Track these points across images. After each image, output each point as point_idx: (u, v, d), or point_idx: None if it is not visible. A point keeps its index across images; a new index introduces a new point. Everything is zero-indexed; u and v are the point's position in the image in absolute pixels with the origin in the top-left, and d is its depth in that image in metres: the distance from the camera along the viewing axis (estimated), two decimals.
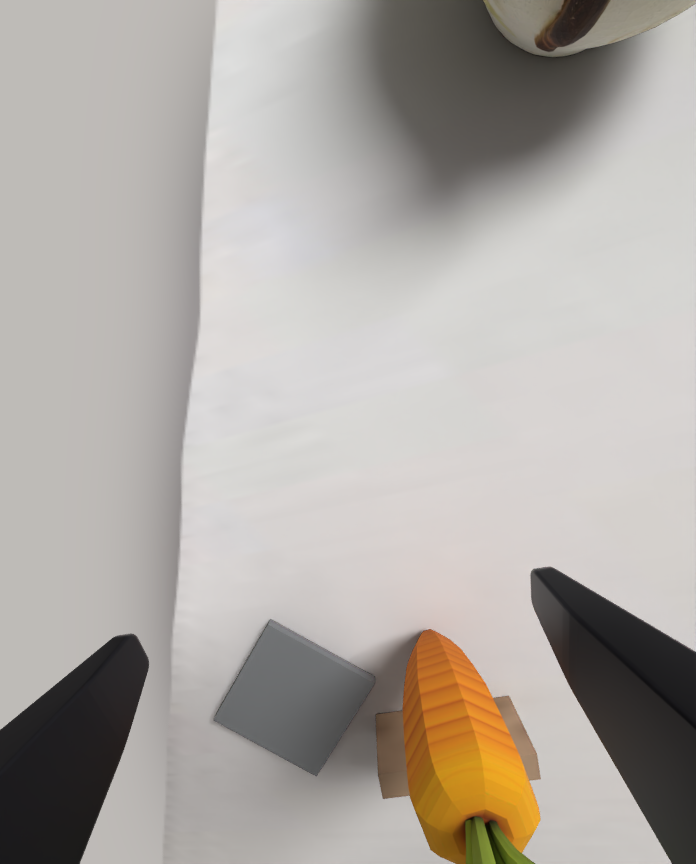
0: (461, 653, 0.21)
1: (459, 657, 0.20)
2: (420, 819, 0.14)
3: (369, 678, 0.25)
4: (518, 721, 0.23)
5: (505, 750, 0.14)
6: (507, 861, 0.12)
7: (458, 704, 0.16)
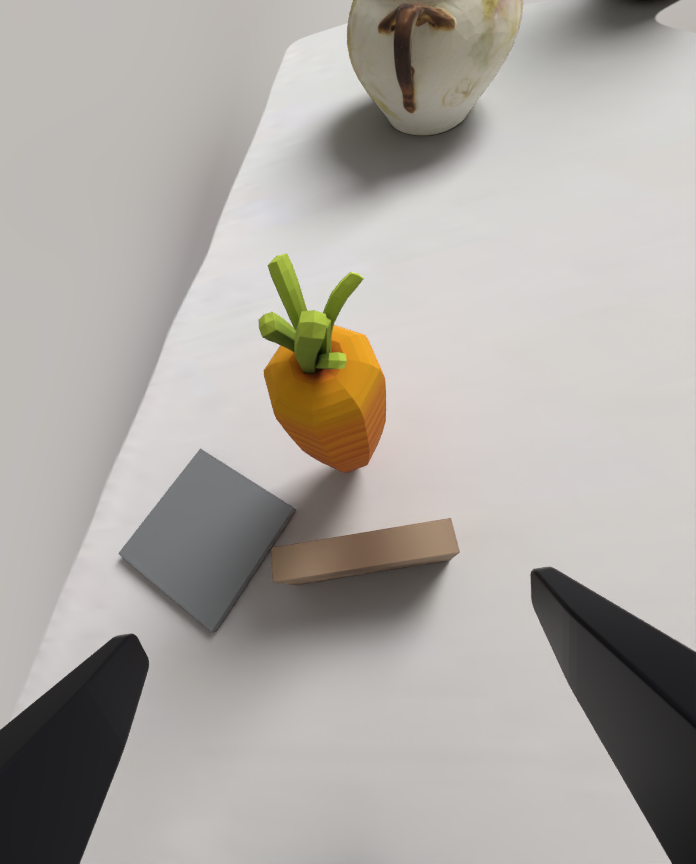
0: None
1: None
2: (266, 374, 0.15)
3: None
4: None
5: None
6: None
7: None
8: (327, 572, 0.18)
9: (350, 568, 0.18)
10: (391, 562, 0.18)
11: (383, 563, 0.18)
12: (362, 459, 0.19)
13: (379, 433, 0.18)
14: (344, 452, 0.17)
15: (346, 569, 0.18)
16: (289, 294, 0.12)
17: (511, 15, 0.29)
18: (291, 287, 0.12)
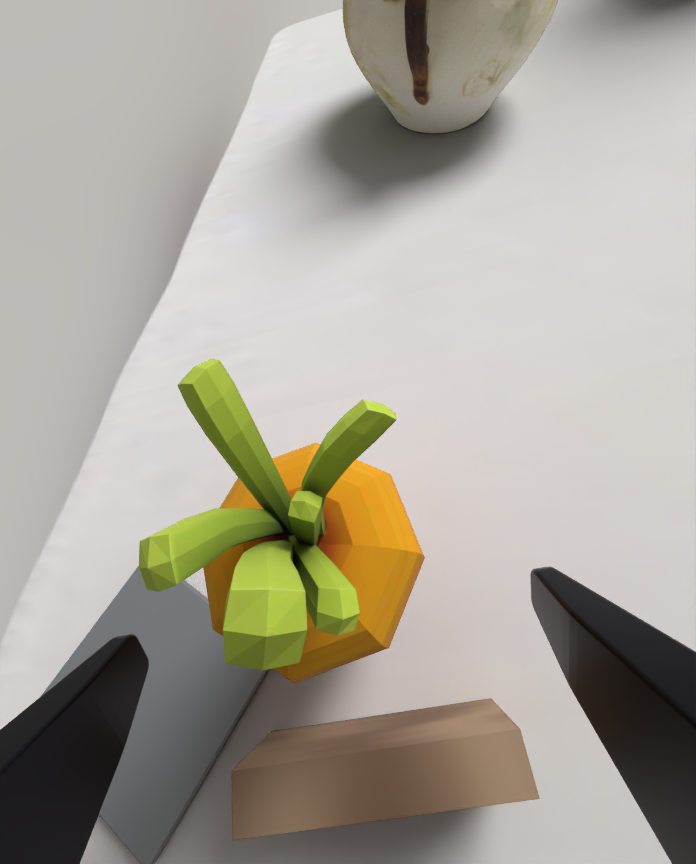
0: None
1: None
2: None
3: None
4: (498, 711, 0.13)
5: None
6: None
7: None
8: (321, 826, 0.11)
9: (359, 820, 0.11)
10: (426, 811, 0.11)
11: (413, 813, 0.11)
12: None
13: None
14: None
15: (352, 820, 0.11)
16: (228, 446, 0.05)
17: None
18: (232, 433, 0.05)
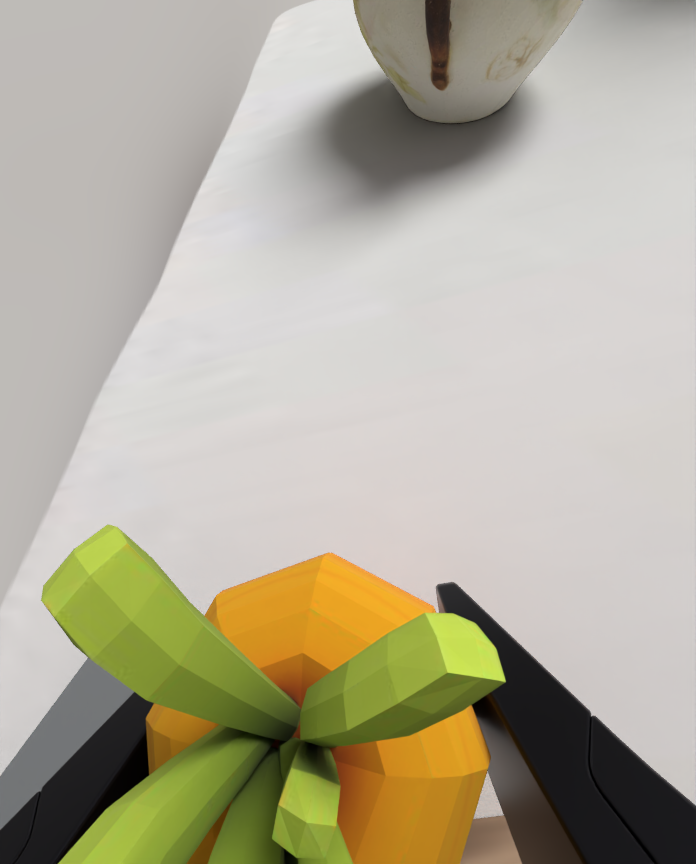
0: None
1: None
2: (149, 744, 0.05)
3: None
4: None
5: (397, 587, 0.06)
6: (302, 715, 0.03)
7: None
8: None
9: None
10: None
11: None
12: None
13: None
14: None
15: None
16: (153, 702, 0.03)
17: None
18: (160, 676, 0.03)
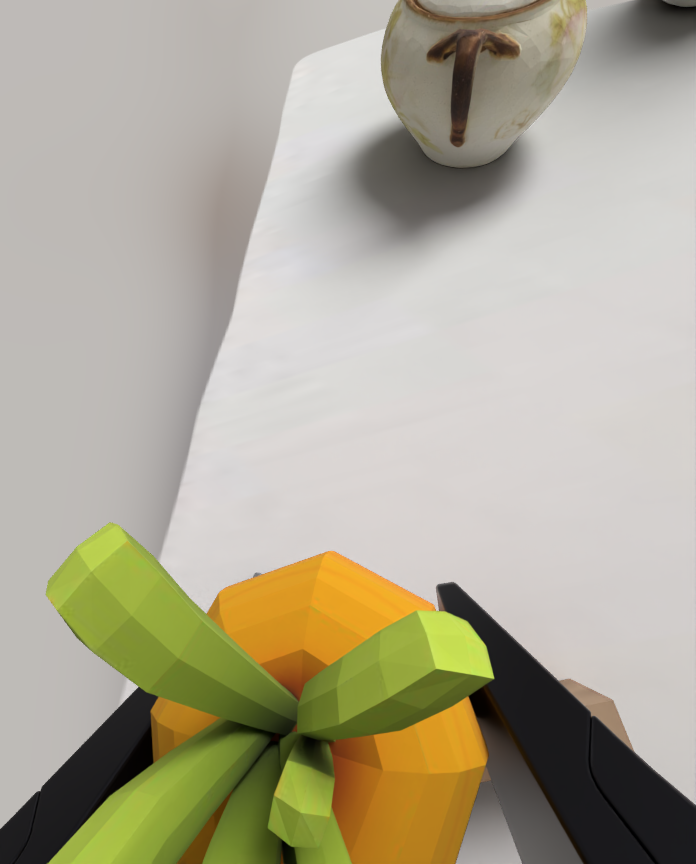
0: None
1: None
2: (154, 736, 0.05)
3: None
4: (584, 688, 0.16)
5: (397, 586, 0.06)
6: None
7: None
8: None
9: None
10: None
11: None
12: None
13: None
14: None
15: (488, 778, 0.14)
16: (153, 694, 0.03)
17: (578, 38, 0.26)
18: (159, 671, 0.03)
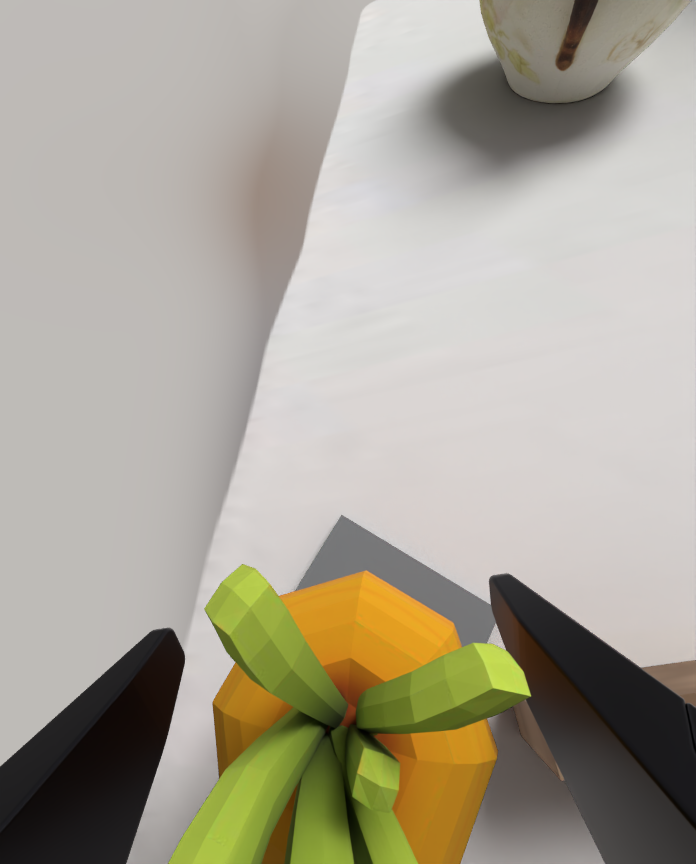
0: None
1: None
2: (217, 723, 0.06)
3: (490, 605, 0.16)
4: None
5: (422, 604, 0.07)
6: (364, 709, 0.05)
7: None
8: None
9: None
10: None
11: None
12: None
13: None
14: None
15: None
16: (273, 694, 0.04)
17: None
18: (279, 678, 0.04)
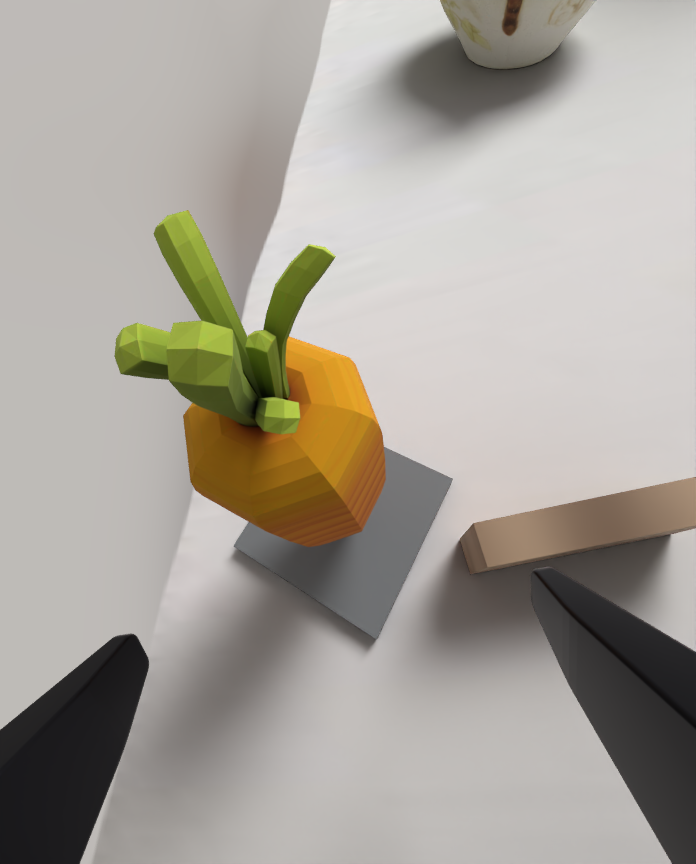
0: None
1: None
2: (185, 422, 0.09)
3: (444, 476, 0.19)
4: None
5: None
6: None
7: None
8: (562, 551, 0.13)
9: (594, 544, 0.13)
10: (650, 533, 0.13)
11: (639, 535, 0.13)
12: (352, 533, 0.13)
13: (376, 498, 0.12)
14: (320, 535, 0.11)
15: (587, 546, 0.13)
16: (196, 287, 0.06)
17: None
18: (199, 275, 0.06)
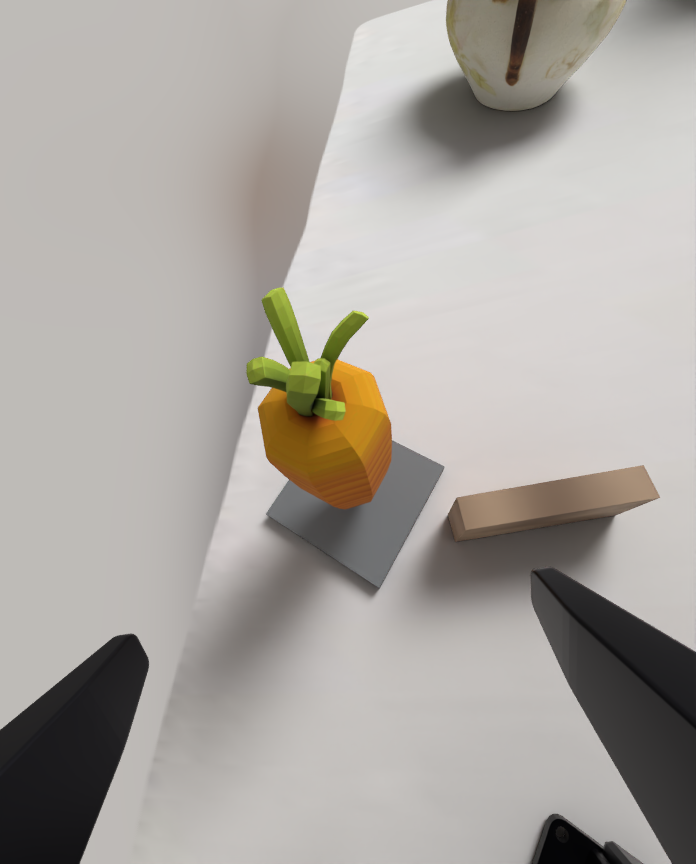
0: None
1: None
2: (260, 412, 0.13)
3: (438, 464, 0.23)
4: None
5: None
6: None
7: None
8: (522, 519, 0.18)
9: (546, 515, 0.18)
10: (588, 509, 0.18)
11: (580, 510, 0.18)
12: (364, 499, 0.17)
13: (384, 473, 0.17)
14: (344, 496, 0.15)
15: (541, 516, 0.18)
16: (284, 331, 0.11)
17: None
18: (287, 325, 0.11)
